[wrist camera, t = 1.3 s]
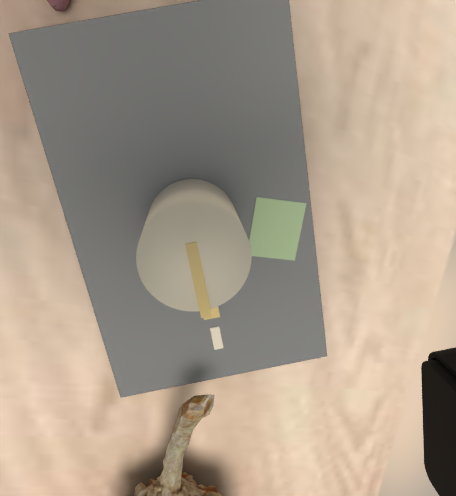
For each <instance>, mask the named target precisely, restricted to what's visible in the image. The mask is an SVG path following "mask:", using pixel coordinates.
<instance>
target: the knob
mask: <svg viewBox="0 0 456 496" xmlns="http://www.w3.org/2000/svg"><path fill="white" fill-rule="evenodd" d="M251 258H252V255H251V247H250V243H249V240H248V237H247V235H246V233H245V230H244V228H243V226H242V224H241V221H240V219H239V217H238V215H237V213H236V210H235V208H234V206H233V204H232V202H231V200H230V198H229V197H228V196H227V194H226V193H225V192H224V191H223V190H221V189H220V188H219V187H217V186H216V185H214V184H212V183H210V182H208V181H204V180H199V179H185V180H180V181H177V182H174V183H172V184H170V185H169V186H167V187H166V188H164V189H163V190H162V191H161V192H160V193H159V194H158V195H157V196H156V198H155V199H154V201H153V203H152V205H151V207H150V210H149V213H148V216H147V219H146V222H145V225H144V228H143V230H142V233H141V236H140V239H139V242H138V246H137V252H136V265H137V270H138V273H139V276H140V279H141V281H142V283H143V284H144V286H145V287H146V289H147V290H148V291H149V292H150V294H151V295H152V296H154V297H155V298H156V299H157V300H158V301H160V302H161V303H163V304H165V305H167V306H169V307H172V308H174V309H178V310H182V311H190V312H194V311H200V316H201V318H204V320H207V319H213V318H218V317H220V312H219V307H218V306H220V305H222V304H224V303H225V302H227V301H228V300H230V299H231V298H232V297H233V296H234V295H236V294H237V292H238V291H239V290H240V289H241V288H242V286H243V285H244V283H245V281H246V279H247V277H248V274H249V271H250V267H251Z"/></svg>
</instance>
